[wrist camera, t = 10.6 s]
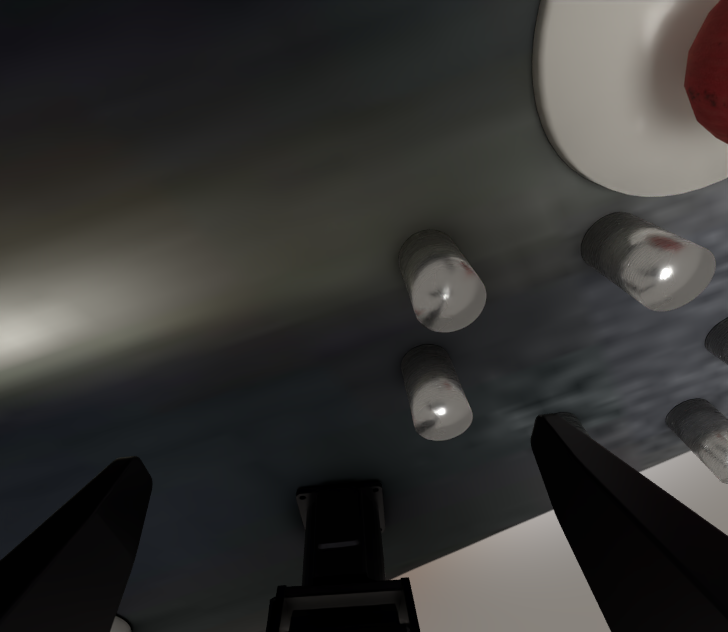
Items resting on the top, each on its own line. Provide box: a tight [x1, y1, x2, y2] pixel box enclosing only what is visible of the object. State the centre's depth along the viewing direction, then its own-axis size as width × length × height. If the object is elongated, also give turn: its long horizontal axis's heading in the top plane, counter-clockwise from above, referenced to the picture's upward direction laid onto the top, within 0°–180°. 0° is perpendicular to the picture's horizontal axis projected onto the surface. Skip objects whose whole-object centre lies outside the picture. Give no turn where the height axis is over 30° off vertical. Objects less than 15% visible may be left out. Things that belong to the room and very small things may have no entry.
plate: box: [532, 0, 728, 197], centre depth 14 cm, size 13×13×1 cm
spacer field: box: [398, 212, 728, 484], centre depth 21 cm, size 17×22×4 cm
